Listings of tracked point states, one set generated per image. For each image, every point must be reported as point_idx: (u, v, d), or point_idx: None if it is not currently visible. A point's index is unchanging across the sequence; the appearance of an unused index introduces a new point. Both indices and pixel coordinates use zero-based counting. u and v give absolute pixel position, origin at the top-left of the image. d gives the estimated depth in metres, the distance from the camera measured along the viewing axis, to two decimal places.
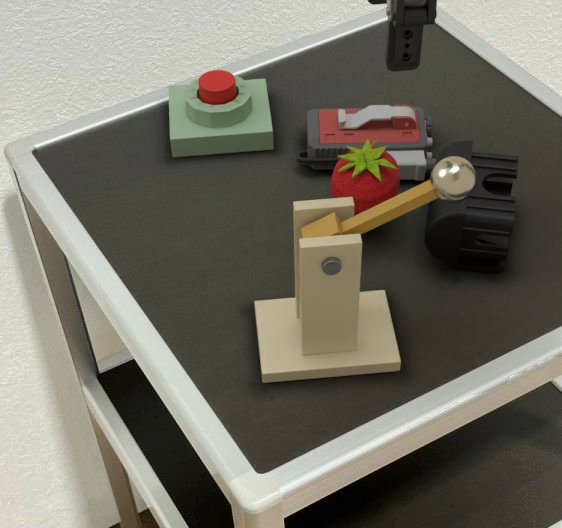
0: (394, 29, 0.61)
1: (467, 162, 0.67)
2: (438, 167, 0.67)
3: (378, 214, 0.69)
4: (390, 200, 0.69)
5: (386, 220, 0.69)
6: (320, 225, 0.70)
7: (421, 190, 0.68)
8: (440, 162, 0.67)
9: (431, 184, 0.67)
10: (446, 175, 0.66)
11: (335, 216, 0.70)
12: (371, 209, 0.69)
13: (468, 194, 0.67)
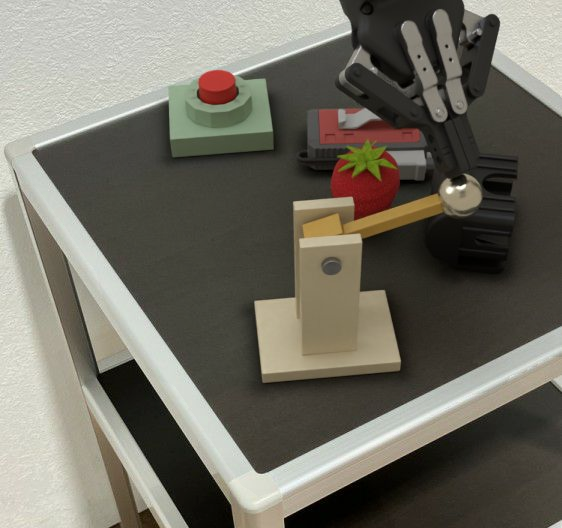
0: None
1: (476, 181, 0.68)
2: (449, 182, 0.68)
3: (383, 221, 0.69)
4: (395, 208, 0.69)
5: (389, 228, 0.70)
6: (323, 224, 0.70)
7: (428, 202, 0.69)
8: None
9: (439, 198, 0.68)
10: (456, 191, 0.67)
11: (339, 217, 0.70)
12: (375, 215, 0.70)
13: (473, 212, 0.68)
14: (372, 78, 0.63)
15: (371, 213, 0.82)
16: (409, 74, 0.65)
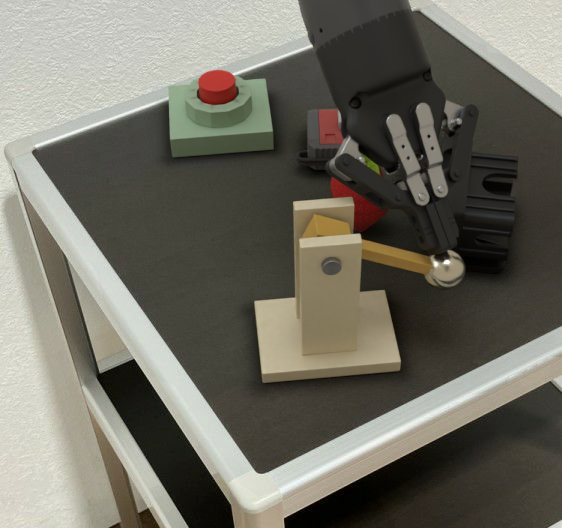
0: None
1: None
2: (449, 254, 0.73)
3: (383, 253, 0.72)
4: (394, 249, 0.73)
5: (381, 261, 0.72)
6: (335, 225, 0.70)
7: (422, 260, 0.73)
8: (450, 251, 0.73)
9: (433, 261, 0.73)
10: (453, 264, 0.73)
11: (348, 227, 0.71)
12: (376, 244, 0.72)
13: (449, 289, 0.74)
14: (360, 167, 0.69)
15: (371, 213, 0.82)
16: (394, 162, 0.70)
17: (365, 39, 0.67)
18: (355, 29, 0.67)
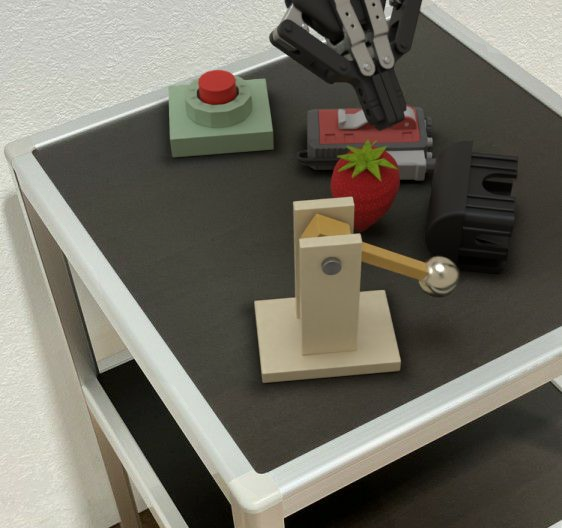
0: None
1: None
2: (445, 261, 0.74)
3: (381, 256, 0.72)
4: (392, 253, 0.73)
5: (379, 265, 0.72)
6: (336, 225, 0.70)
7: (418, 266, 0.73)
8: (445, 258, 0.74)
9: (429, 268, 0.74)
10: (449, 272, 0.73)
11: (349, 228, 0.71)
12: (375, 247, 0.72)
13: (443, 296, 0.75)
14: (302, 34, 0.68)
15: (371, 213, 0.82)
16: (338, 31, 0.69)
17: None
18: None
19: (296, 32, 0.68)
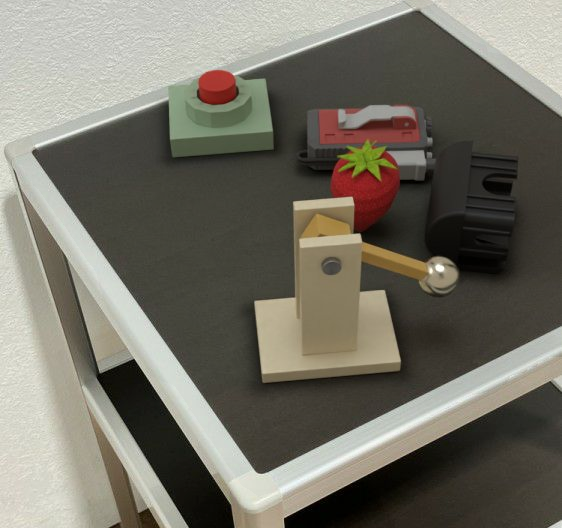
0: None
1: None
2: (445, 261, 0.74)
3: (381, 256, 0.72)
4: (392, 253, 0.73)
5: (379, 265, 0.72)
6: (336, 225, 0.70)
7: (418, 266, 0.73)
8: (445, 258, 0.74)
9: (429, 268, 0.74)
10: (449, 272, 0.73)
11: (349, 228, 0.71)
12: (375, 247, 0.72)
13: (443, 296, 0.75)
14: None
15: (371, 213, 0.82)
16: None
17: None
18: None
19: None
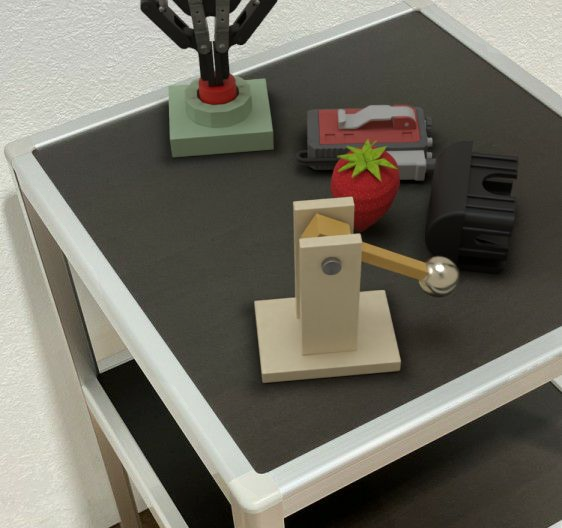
0: None
1: None
2: (445, 261, 0.74)
3: (381, 256, 0.72)
4: (392, 253, 0.73)
5: (379, 265, 0.72)
6: (336, 225, 0.70)
7: (418, 266, 0.73)
8: (445, 258, 0.74)
9: (429, 268, 0.74)
10: (449, 272, 0.73)
11: (349, 228, 0.71)
12: (375, 247, 0.72)
13: (443, 296, 0.75)
14: (157, 14, 0.87)
15: (371, 213, 0.82)
16: (190, 15, 0.88)
17: None
18: None
19: (152, 12, 0.87)
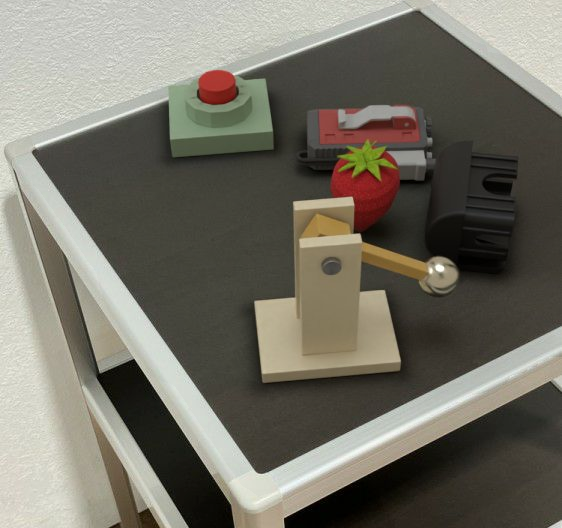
0: None
1: None
2: (445, 261, 0.74)
3: (381, 256, 0.72)
4: (392, 253, 0.73)
5: (379, 265, 0.72)
6: (336, 225, 0.70)
7: (418, 266, 0.73)
8: (445, 258, 0.74)
9: (429, 268, 0.74)
10: (449, 272, 0.73)
11: (349, 228, 0.71)
12: (375, 247, 0.72)
13: (443, 296, 0.75)
14: None
15: (371, 213, 0.82)
16: None
17: None
18: None
19: None
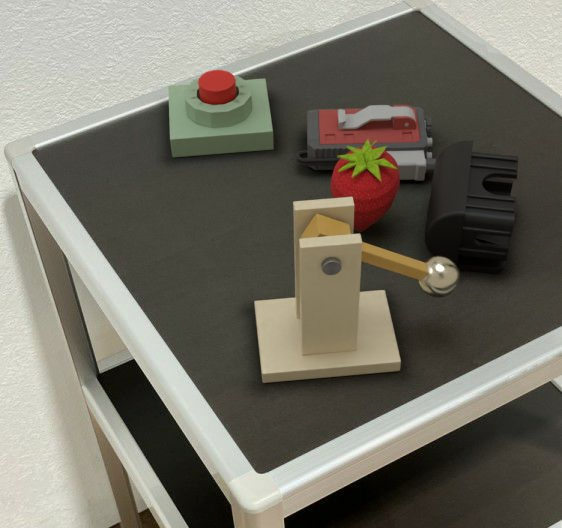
0: None
1: None
2: (445, 261, 0.74)
3: (381, 256, 0.72)
4: (392, 253, 0.73)
5: (379, 265, 0.72)
6: (336, 225, 0.70)
7: (418, 266, 0.73)
8: (445, 258, 0.74)
9: (429, 268, 0.74)
10: (449, 272, 0.73)
11: (349, 228, 0.71)
12: (375, 247, 0.72)
13: (443, 296, 0.75)
14: None
15: (371, 213, 0.82)
16: None
17: None
18: None
19: None
